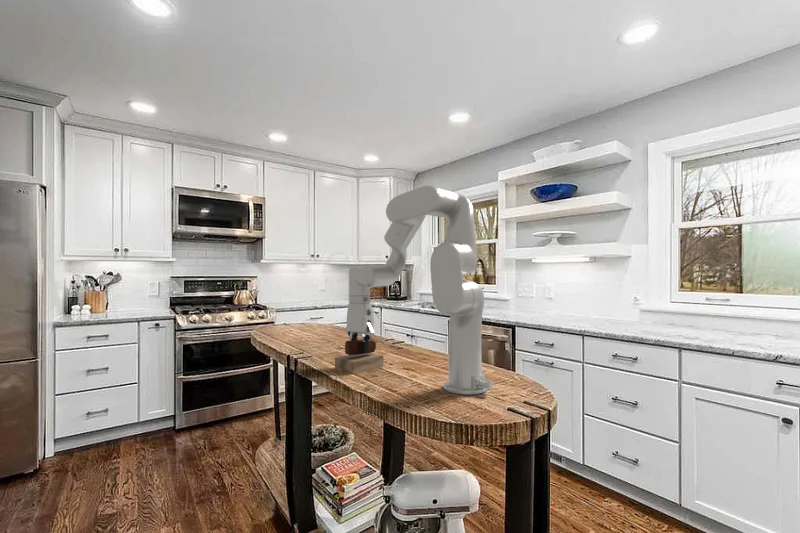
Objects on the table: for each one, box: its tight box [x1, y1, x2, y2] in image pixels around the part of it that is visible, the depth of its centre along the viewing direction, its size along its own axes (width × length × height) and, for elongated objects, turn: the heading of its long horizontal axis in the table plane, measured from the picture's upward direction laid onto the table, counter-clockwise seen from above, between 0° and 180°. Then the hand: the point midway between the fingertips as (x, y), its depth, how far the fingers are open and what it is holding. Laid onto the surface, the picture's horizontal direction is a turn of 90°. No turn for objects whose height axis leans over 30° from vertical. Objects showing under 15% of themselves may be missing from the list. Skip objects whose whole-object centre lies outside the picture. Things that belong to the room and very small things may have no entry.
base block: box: [334, 352, 384, 375], centre depth 144 cm, size 10×14×4 cm
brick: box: [344, 338, 377, 355], centre depth 144 cm, size 11×4×5 cm, turn 127°
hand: (359, 351), depth 144 cm, fingers closed on brick, 4 cm apart
